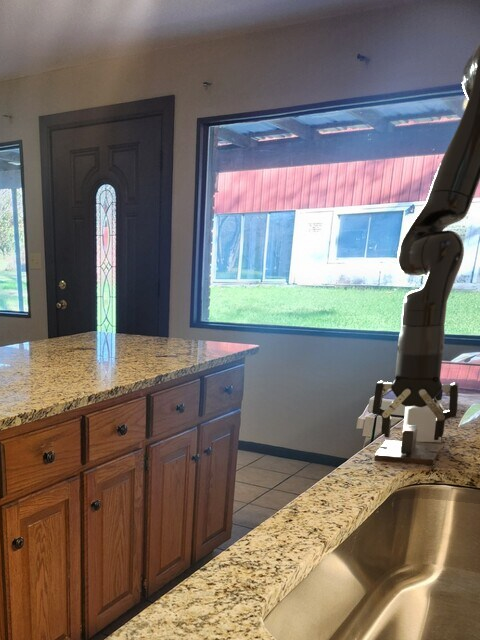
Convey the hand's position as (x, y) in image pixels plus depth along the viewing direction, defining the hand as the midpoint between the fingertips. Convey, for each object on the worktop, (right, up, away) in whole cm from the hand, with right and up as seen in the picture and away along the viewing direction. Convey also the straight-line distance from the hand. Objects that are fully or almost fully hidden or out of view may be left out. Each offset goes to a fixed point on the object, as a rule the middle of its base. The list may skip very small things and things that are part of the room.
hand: (411, 437), depth 129 cm
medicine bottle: (+11, +2, +20) cm, 23 cm away
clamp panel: (0, -5, +3) cm, 5 cm away
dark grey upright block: (0, -2, +2) cm, 2 cm away
